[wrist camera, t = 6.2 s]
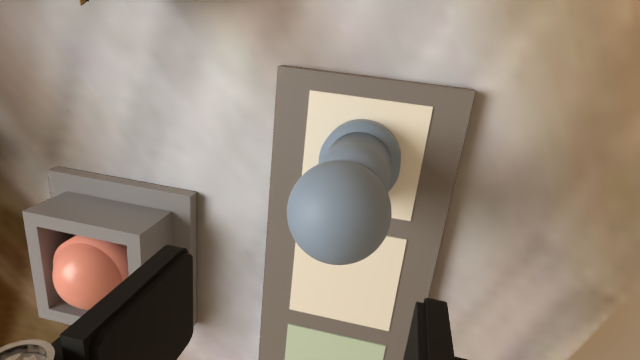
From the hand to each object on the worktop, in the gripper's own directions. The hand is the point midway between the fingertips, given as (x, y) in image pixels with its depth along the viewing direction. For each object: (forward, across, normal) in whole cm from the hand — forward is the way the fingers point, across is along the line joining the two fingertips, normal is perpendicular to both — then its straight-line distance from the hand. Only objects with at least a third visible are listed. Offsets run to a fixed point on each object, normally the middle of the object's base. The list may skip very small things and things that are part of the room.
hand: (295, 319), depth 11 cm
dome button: (+17, +18, +11) cm, 27 cm away
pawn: (+17, 0, 0) cm, 17 cm away
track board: (+18, 0, +9) cm, 20 cm away
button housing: (+18, +18, +11) cm, 27 cm away
